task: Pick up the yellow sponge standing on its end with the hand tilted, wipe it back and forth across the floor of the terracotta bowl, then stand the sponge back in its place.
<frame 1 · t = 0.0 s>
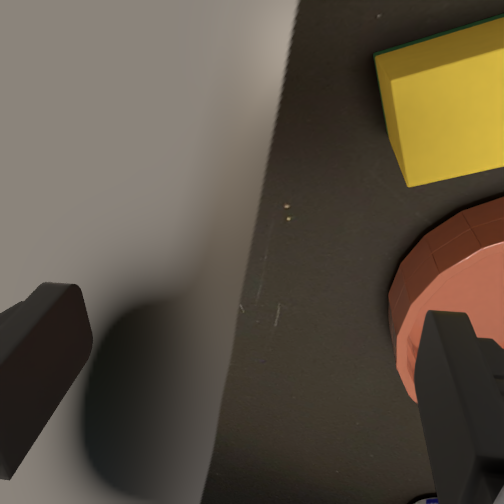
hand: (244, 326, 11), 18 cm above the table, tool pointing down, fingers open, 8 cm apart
sponge: (448, 76, 24), on the table
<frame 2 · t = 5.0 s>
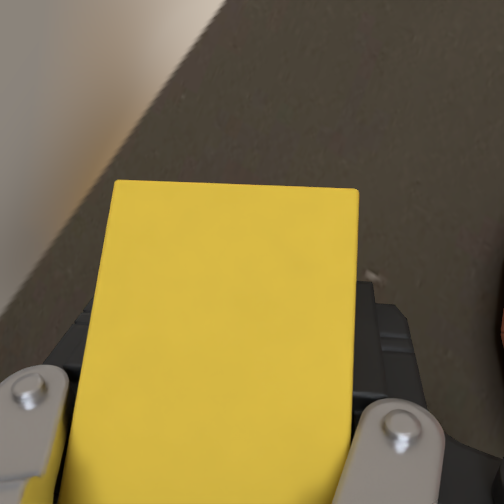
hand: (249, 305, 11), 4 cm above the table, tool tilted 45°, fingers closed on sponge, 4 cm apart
sponge: (260, 382, 15), on the table, touching gripper
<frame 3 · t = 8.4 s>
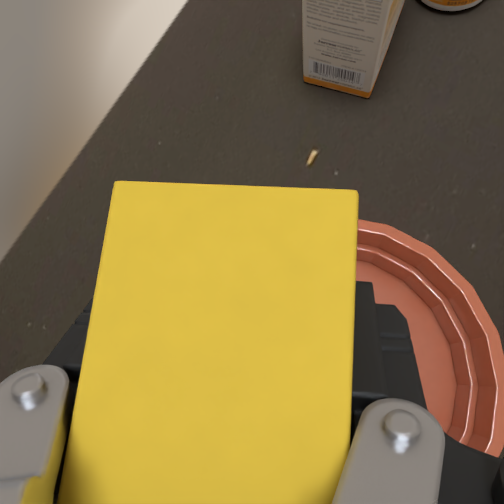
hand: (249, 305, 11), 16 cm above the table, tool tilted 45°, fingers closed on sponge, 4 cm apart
supplement box: (352, 44, 31), on the table
bowl: (328, 373, 26), on the table
sponge: (259, 383, 15), point 12 cm above the table, touching gripper
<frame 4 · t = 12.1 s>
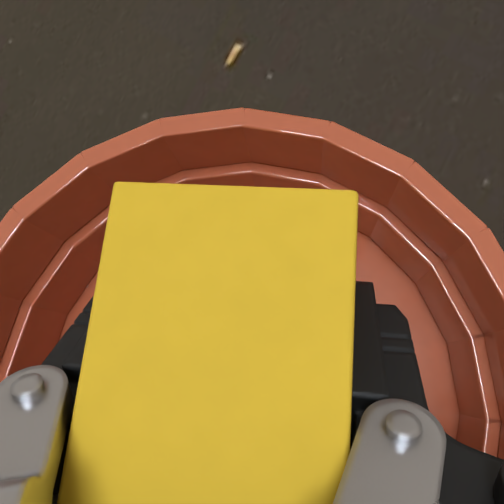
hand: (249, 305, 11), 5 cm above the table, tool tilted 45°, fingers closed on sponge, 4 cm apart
bowl: (243, 392, 15), on the table
sponge: (260, 383, 15), point 1 cm above the table, touching gripper
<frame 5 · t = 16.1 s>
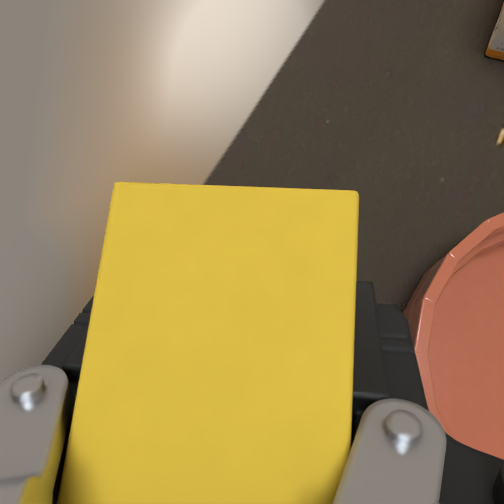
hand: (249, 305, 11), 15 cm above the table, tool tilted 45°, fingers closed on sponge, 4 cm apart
sponge: (260, 384, 15), point 11 cm above the table, touching gripper
when the fingers open (4 cm above the table, at t = 19.4 s): sponge stays where it is, on the table.
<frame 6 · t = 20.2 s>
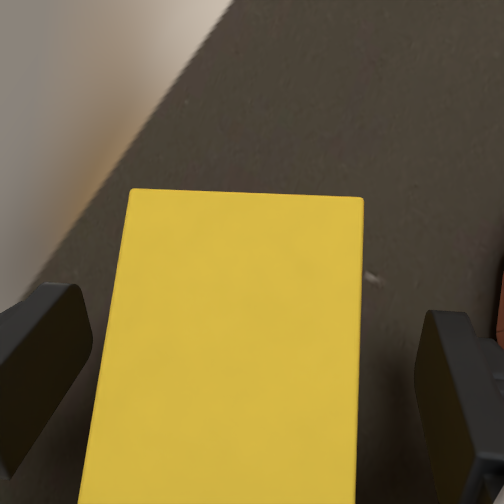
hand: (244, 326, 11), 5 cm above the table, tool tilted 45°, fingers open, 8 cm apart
sponge: (266, 382, 15), on the table
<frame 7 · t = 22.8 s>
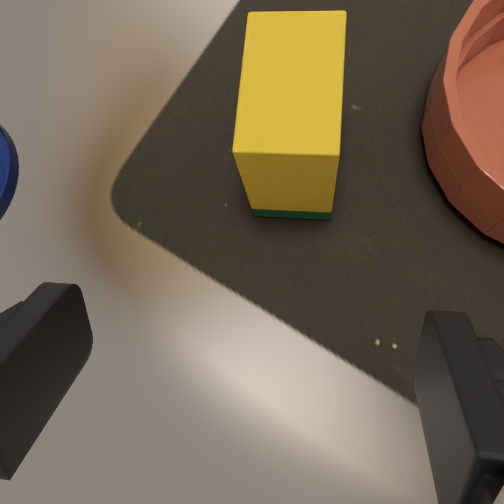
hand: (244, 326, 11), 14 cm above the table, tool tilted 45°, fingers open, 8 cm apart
sponge: (295, 162, 27), on the table
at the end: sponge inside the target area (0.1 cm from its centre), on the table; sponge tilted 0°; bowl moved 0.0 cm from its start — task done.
